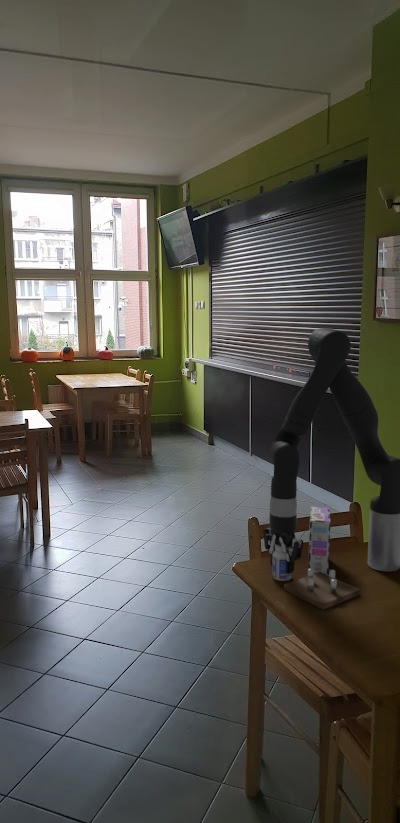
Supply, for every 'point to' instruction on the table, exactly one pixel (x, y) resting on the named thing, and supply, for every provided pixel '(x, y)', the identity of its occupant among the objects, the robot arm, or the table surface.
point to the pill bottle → (280, 564)
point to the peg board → (321, 591)
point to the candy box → (319, 539)
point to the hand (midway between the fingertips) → (281, 569)
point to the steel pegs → (331, 581)
